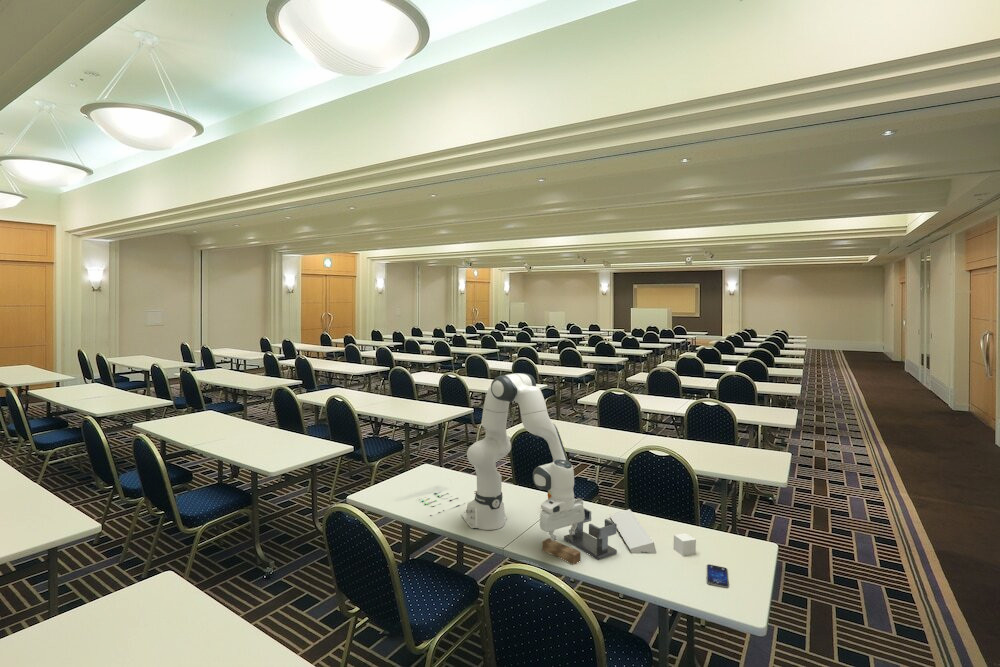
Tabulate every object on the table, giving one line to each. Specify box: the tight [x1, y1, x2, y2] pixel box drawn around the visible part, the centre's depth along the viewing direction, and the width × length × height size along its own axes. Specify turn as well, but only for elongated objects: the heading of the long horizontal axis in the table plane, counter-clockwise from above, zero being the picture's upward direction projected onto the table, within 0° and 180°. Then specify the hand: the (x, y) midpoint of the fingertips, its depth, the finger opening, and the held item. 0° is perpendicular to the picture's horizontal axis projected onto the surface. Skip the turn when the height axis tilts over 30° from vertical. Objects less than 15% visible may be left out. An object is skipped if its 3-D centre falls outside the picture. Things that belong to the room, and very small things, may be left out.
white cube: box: [672, 532, 697, 557], centre depth 207 cm, size 6×6×6 cm
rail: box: [541, 537, 582, 565], centre depth 202 cm, size 16×4×4 cm, turn 44°
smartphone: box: [705, 564, 730, 589], centre depth 187 cm, size 7×1×15 cm
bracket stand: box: [563, 507, 618, 561], centre depth 210 cm, size 21×10×12 cm, turn 33°
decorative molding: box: [609, 508, 657, 554], centre depth 222 cm, size 34×5×10 cm
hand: (562, 537), depth 201 cm, fingers open, 8 cm apart
